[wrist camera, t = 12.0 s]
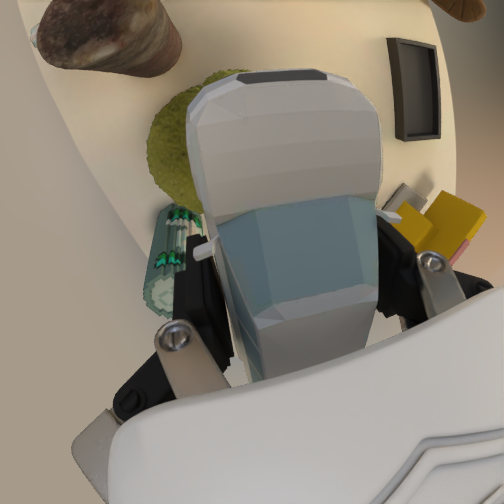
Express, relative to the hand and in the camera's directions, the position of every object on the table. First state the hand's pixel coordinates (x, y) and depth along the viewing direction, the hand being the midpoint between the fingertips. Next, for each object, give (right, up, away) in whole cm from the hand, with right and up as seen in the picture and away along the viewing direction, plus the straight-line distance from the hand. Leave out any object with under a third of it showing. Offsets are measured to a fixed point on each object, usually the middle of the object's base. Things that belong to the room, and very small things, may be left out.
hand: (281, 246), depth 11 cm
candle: (-13, +23, +12) cm, 30 cm away
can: (-11, +4, +27) cm, 29 cm away
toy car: (0, 0, 0) cm, 0 cm away
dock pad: (+24, +25, +19) cm, 40 cm away
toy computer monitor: (+25, +6, +33) cm, 42 cm away
